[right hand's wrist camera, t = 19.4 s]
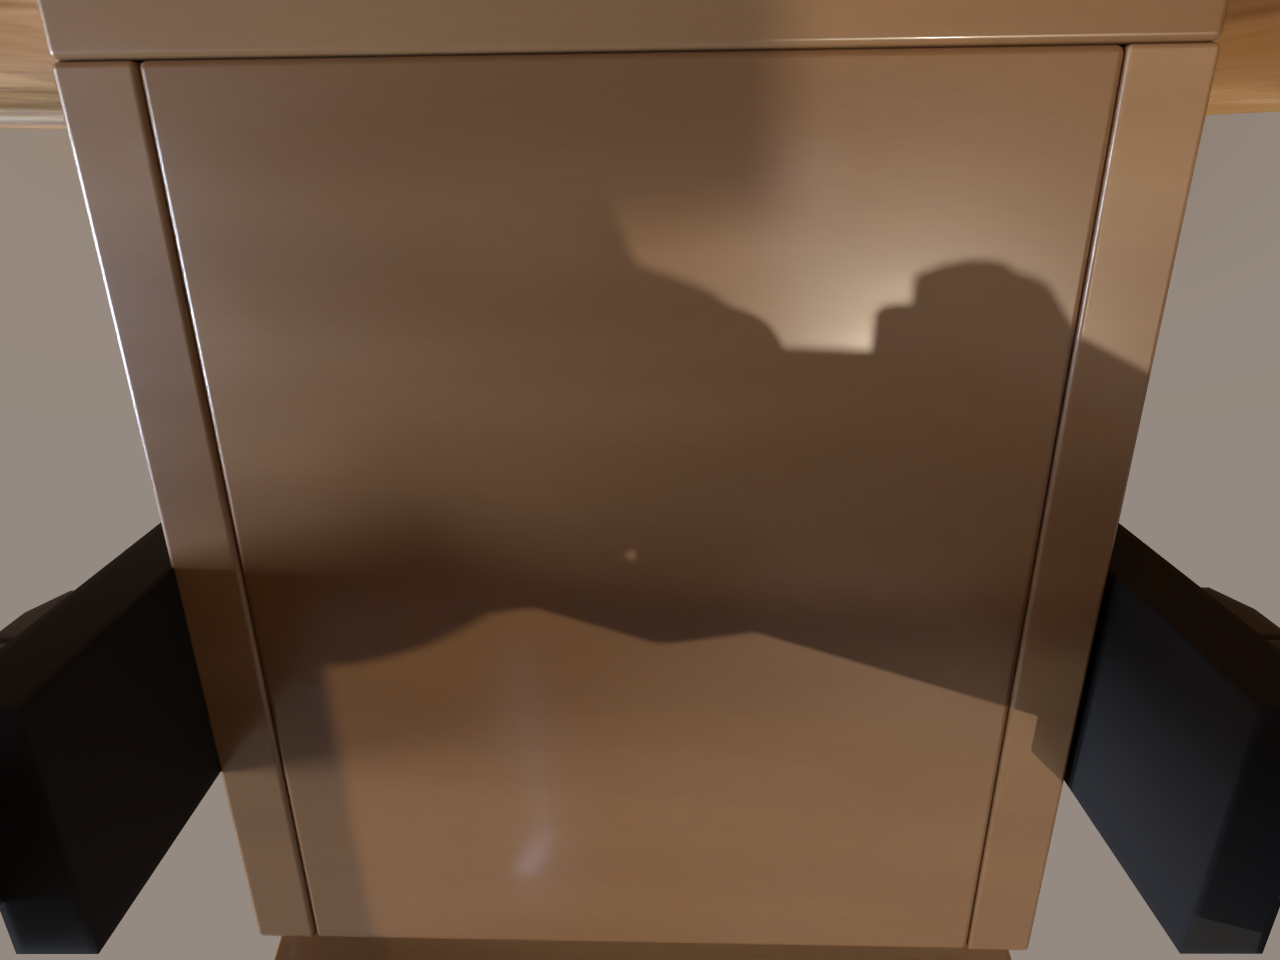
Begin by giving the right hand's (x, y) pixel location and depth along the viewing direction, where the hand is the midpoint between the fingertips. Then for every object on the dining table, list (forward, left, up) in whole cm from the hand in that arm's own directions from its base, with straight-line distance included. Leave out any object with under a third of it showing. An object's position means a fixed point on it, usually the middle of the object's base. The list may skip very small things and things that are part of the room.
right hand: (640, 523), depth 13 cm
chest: (+1, -4, -7) cm, 8 cm away
